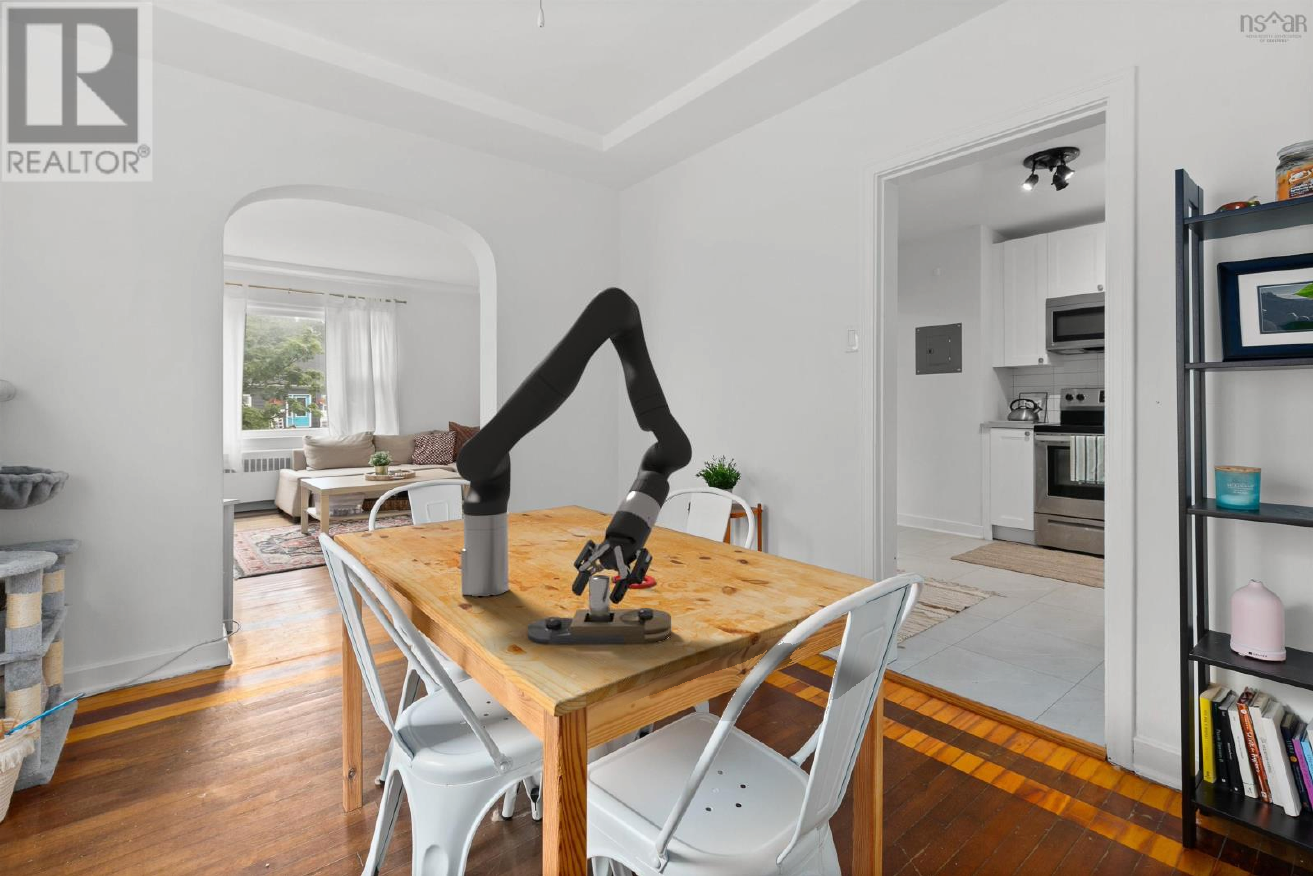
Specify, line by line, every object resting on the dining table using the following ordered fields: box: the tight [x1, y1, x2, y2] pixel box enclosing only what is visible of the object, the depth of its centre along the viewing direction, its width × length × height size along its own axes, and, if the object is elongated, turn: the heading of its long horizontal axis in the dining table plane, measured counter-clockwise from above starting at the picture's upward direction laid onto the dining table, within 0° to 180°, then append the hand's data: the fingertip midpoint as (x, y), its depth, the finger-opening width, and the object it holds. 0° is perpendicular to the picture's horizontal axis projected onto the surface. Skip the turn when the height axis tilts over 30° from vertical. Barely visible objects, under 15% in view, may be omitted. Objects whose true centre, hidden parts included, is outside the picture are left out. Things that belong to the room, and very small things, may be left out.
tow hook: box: [610, 571, 656, 589], centre depth 142 cm, size 8×13×9 cm
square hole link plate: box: [526, 607, 672, 645], centre depth 109 cm, size 25×9×4 cm, turn 90°
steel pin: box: [588, 574, 611, 622], centre depth 109 cm, size 4×4×10 cm
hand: (594, 597), depth 108 cm, fingers open, 8 cm apart
